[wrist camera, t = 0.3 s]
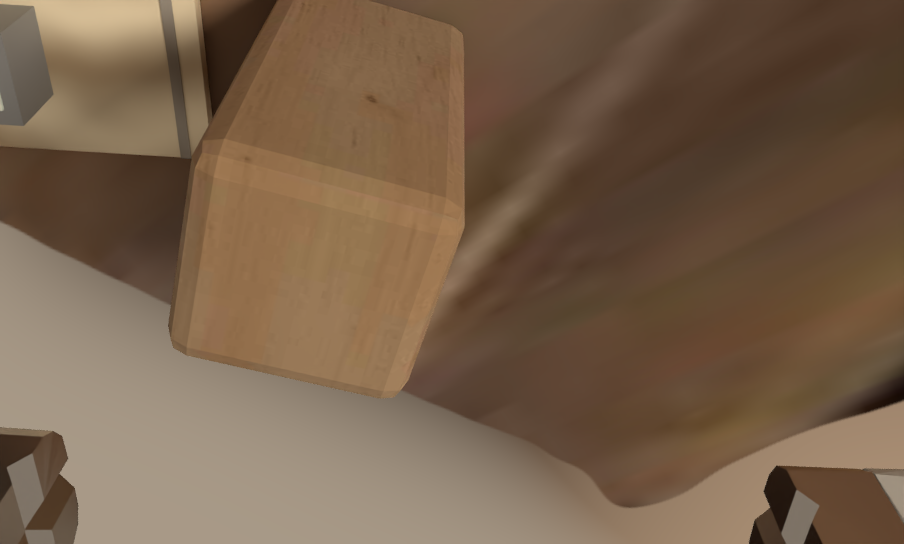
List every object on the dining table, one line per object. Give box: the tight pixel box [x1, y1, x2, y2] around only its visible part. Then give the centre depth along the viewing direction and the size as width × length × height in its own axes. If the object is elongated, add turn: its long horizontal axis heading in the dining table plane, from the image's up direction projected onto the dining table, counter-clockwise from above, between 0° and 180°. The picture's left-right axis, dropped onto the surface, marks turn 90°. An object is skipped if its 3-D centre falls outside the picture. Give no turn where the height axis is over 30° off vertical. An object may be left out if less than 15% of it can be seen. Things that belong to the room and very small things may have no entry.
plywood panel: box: [0, 0, 213, 159], centre depth 47 cm, size 12×16×1 cm
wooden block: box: [168, 0, 465, 398], centre depth 40 cm, size 10×10×20 cm
